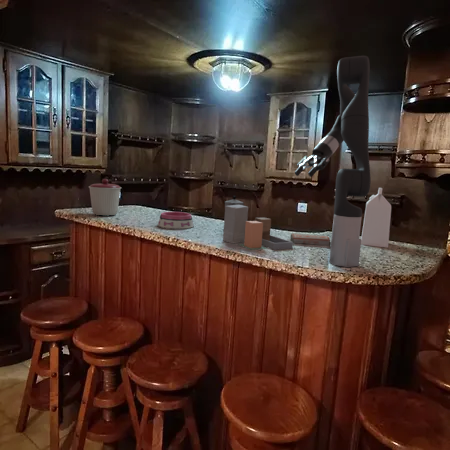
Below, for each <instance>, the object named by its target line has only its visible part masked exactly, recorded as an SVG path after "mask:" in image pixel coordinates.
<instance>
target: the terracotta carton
mask: <svg viewBox="0 0 450 450" xmlns="http://www.w3.org/2000/svg"><path fill="white" fill-rule="evenodd" d="M262 231H263V223H262V222H258V221H255V220H247V221H246V225H245V241H244V242H243V244H244V246H247V247H249V248H261V246H262Z"/></svg>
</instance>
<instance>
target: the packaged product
mask: <svg viewBox="0 0 450 450" xmlns="http://www.w3.org/2000/svg"><path fill="white" fill-rule="evenodd" d="M330 238H331V237H329V236H328V235H319V234H317V235H316V234H305V233H291V234H290V238H287V239H286V240H287V241H290V242H293V246H304V247H305V246H306V247H316V248H317V247H318V248H325V249H329V250H330V248H331V239H330Z"/></svg>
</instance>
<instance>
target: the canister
mask: <svg viewBox="0 0 450 450" xmlns="http://www.w3.org/2000/svg"><path fill="white" fill-rule="evenodd" d="M88 188H89V194H90V203H91V205H90V206H91V211H92V214H93V215H95V214H96V215H95V216H97V215H114V216H116V215H117V214H118V211H119V205H120V204H119V202H120V194H121V189H122V187H121V186H120V185H119V184H115V183H109V179H107V178H102V180H101V183H93V184H90V185H89V186H88ZM115 214H116V215H115Z"/></svg>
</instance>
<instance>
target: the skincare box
mask: <svg viewBox="0 0 450 450" xmlns="http://www.w3.org/2000/svg"><path fill="white" fill-rule="evenodd" d="M248 217H249V206H246V205H230V206H225V205H224V219H223V220H224V223H223V229H224V232H223V235H222V236H223V237H222V238H223V239H222V241H223V242H227V243H232V244H238V243H239V244H240V243H244V241H245V225H246V221H248Z"/></svg>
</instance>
